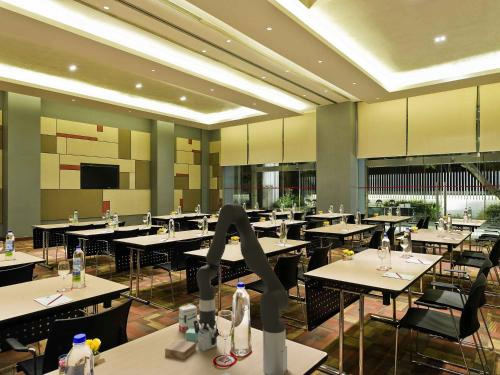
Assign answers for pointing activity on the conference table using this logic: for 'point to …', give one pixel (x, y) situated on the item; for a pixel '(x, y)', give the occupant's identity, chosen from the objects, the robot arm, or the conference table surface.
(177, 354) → the walnut slab
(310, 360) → the conference table surface
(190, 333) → the teal cube
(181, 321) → the ink box
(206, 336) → the medicine box
